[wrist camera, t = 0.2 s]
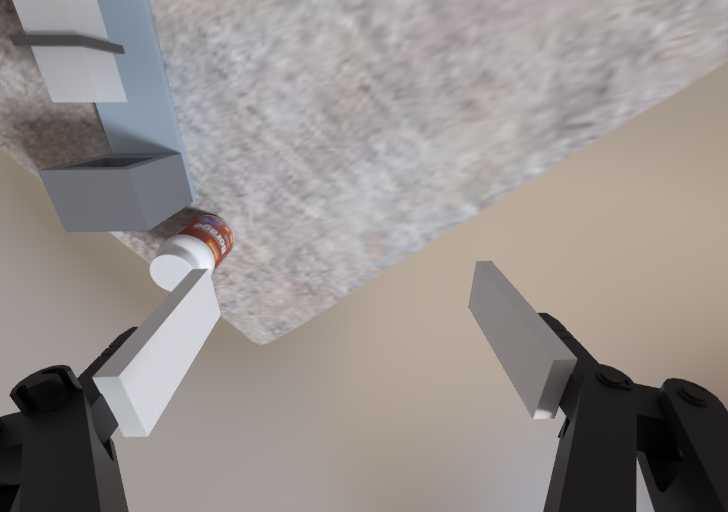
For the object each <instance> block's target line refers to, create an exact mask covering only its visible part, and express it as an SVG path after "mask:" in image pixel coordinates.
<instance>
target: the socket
mask: <svg viewBox="0 0 728 512" xmlns="http://www.w3.org/2000/svg"><path fill="white" fill-rule="evenodd" d="M38 172H39V174H40V176H41V178H42V181H43V183H44V185H45V187H46V189H47V192H48V194H49V196H50V198H51V200H52V203H53V205H54V207H55V209H56V211H57V214H58V216H59V218H60V220H61V223H62V225H63V227H64V229H65V231H66V232H105V231H149V230H151V229H152V228H154V227H155V226H157V225H159V224H160V223H162V222H163V221H165V220H166V219H168V218H169V217H171V216H172V215H174V214H175V213H177V212H178V211H180V210H182V209H183V208H185V207H186V206H188V205H189V204H191V203H192V202H193V198H192V194H191V190H190V186H189V182H188V178H187V174H186V170H185V166H184V162H183V158H182V154H181V153H117V154H108V155H104V156H99V157H95V158H90V159H86V160H82V161H77V162H73V163H68V164H64V165H59V166H55V167H51V168H46V169H42V170H38Z"/></svg>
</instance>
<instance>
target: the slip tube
mask: <svg viewBox="0 0 728 512" xmlns="http://www.w3.org/2000/svg"><path fill="white" fill-rule="evenodd" d="M12 1H13V3H14V6H15V8H16V11H17V13H18V16H19V18H20V21H21V23H22V26H23V29H24V31H25V34H26V35H10V37H11V40H12V42H13V45H16V46H22V47H28V48H31V49H32V51H33V54H34V56H35V59H36V61H37V64H38V66H39V69H40V72H41V74H42V77H43V79H44V82H45V84H46V87H47V89H48V92H49V94H50V97H51V99H52V102H127V98H126V95H125V92H124V88H123V85H122V82H121V78H120V75H119V72H118V68H117V65H116V62H115V58H114V55H113V54H125V51H124V48H123V45H119V44H114V43H110V42H109V38H108V35H107V32H106V28H105V25H104V22H103V18H102V15H101V12H100V8H99V5H98V2H97V0H12Z"/></svg>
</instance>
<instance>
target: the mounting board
mask: <svg viewBox="0 0 728 512" xmlns="http://www.w3.org/2000/svg"><path fill="white" fill-rule="evenodd" d="M97 2H98V5H99V8H100V12H101V15H102V18H103V22H104V25H105V28H106V32H107V35H108V38H109V42H110V43H114V44H119V45H123V48H124V51H125V54H113V55H114V58H115V62H116V65H117V68H118V72H119V75H120V78H121V82H122V85H123V88H124V92H125V95H126V98H127V102H95V104H96V107H97V110H98V113H99V116H100V119H101V122H102V124H103V127H104V130H105V133H106V136H107V139H108V142H109V145H110V148H111V151H112V154H117V153H181V154H182V158H183V162H184V166H185V170H186V174H187V178H188V182H189V186H190V190H191V194H192V198H193V202H194V201H195V200H197V199H196V195H195V190H194V186H193V182H192V178H191V174H190V170H189V166H188V162H187V158H186V153H185V149H184V145H183V141H182V137H181V133H180V129H179V125H178V120H177V116H176V112H175V108H174V104H173V100H172V96H171V92H170V87H169V83H168V79H167V75H166V71H165V67H164V63H163V59H162V55H161V50H160V46H159V42H158V38H157V34H156V30H155V26H154V22H153V17H152V13H151V9H150V5H149V1H148V0H97Z"/></svg>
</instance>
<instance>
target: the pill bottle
mask: <svg viewBox="0 0 728 512" xmlns="http://www.w3.org/2000/svg"><path fill="white" fill-rule="evenodd" d="M234 240H235V239H234V233H233V230H232V228H231V227H230V226H229V224H228V223H226V222H225V221H224V220H223V219H221V218H219V217H216V216H213V215H202V216H199V217H197V218H195V219H193V220H192V221H191V222H189V223H188V224H187V225H185V226H184V227H183V228H181V229H180V230H179V231H177V232H176V233H175V234H173V235H172V236H170V237H169V238H168V239H166V240H165V241H164V242H163V243H162V244H161V246H160V247H159V249H158V253H157V257H155V258H154V259H153V261H152V262H151V264H150V274H151V277H152V278H153V280H154V281H155V282H156V283H157V284H158V285H159V286H160V287H162V288H163V289H166V290H168V291H171V292H172V290H173V289H174V288H175V287H176V286H177V285H178V284H179V283H180V282H181V281H182V280H183V279H184V277H185V276H186V275H187V274H188V273H189V272H190V271H191V270H192V269H209V272H210V275H211V274H212V273H213V271H214V270H215V269H216V268H217V267H218V265H219V264H220V263H221V262H222V261H223V259H224V258H225V257H226V256H227V254H228V253H229V252H230V251H231V249H232V247H233V245H234Z"/></svg>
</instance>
